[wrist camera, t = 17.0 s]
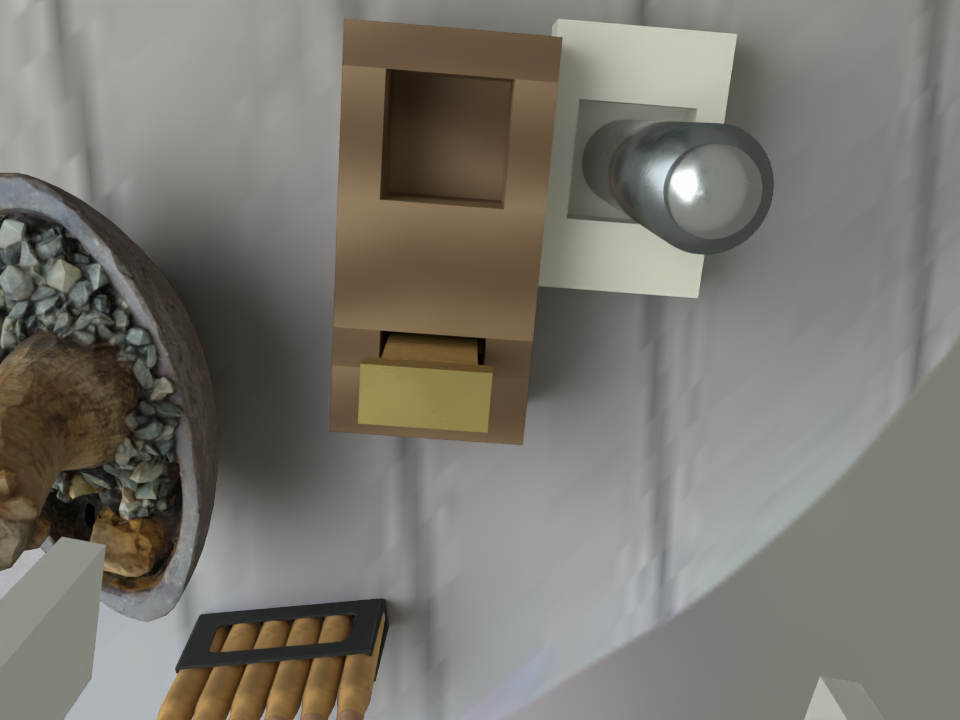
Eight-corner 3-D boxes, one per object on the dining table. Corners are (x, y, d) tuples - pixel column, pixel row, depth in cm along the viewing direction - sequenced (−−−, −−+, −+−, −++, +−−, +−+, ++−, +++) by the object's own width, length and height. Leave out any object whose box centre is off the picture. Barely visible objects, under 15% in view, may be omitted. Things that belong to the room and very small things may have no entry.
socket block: (361, 31, 42) (344, 18, 36) (550, 47, 42) (562, 37, 36) (347, 391, 47) (329, 431, 41) (516, 403, 47) (522, 445, 41)
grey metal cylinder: (586, 116, 42) (658, 117, 26) (669, 123, 42) (792, 129, 26) (577, 200, 43) (640, 253, 27) (658, 207, 43) (770, 263, 27)
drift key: (385, 307, 43) (360, 363, 33) (487, 314, 43) (492, 373, 33) (383, 354, 43) (358, 423, 34) (484, 362, 44) (487, 432, 34)
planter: (205, 548, 49) (33, 830, 30) (-64, 374, 46) (-449, 561, 27) (359, 343, 46) (279, 511, 27) (80, 143, 43) (-237, 168, 24)
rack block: (552, 25, 42) (558, 18, 39) (718, 39, 42) (737, 33, 39) (528, 274, 45) (532, 285, 42) (683, 286, 45) (697, 298, 42)
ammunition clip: (385, 597, 50) (359, 743, 38) (389, 626, 50) (364, 778, 39) (199, 614, 50) (117, 764, 39) (205, 642, 51) (126, 799, 39)
